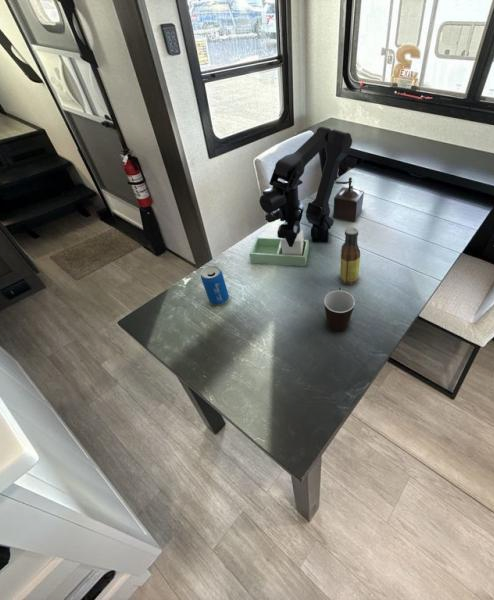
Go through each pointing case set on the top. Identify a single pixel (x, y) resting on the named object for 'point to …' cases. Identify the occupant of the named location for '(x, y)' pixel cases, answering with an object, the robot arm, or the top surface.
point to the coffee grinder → (348, 202)
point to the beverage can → (214, 285)
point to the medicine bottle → (297, 245)
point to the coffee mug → (338, 309)
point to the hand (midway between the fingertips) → (292, 240)
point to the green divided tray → (276, 252)
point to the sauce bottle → (350, 257)
